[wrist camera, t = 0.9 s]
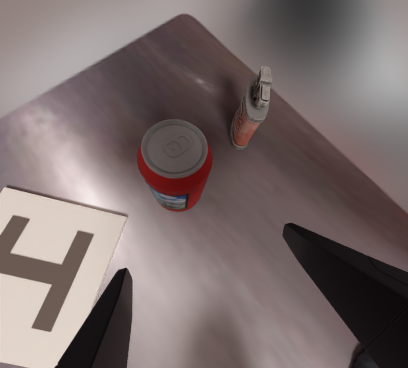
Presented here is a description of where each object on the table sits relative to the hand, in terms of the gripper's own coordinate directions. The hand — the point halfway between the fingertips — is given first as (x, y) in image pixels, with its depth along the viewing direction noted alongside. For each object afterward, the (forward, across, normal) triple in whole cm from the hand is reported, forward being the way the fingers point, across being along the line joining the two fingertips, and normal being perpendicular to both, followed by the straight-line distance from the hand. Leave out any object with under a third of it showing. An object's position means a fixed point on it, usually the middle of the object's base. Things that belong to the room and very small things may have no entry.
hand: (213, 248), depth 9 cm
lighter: (+22, -12, -1) cm, 25 cm away
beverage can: (+16, +1, +5) cm, 16 cm away
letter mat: (+11, +19, +9) cm, 24 cm away
